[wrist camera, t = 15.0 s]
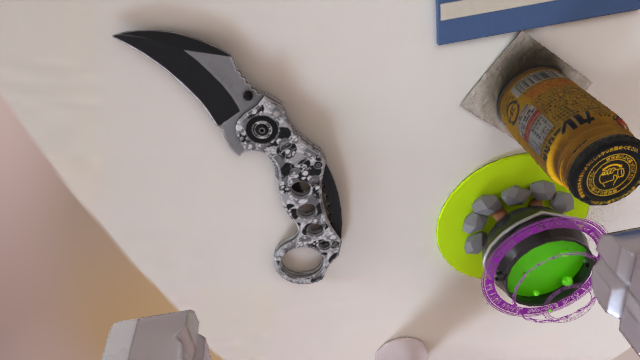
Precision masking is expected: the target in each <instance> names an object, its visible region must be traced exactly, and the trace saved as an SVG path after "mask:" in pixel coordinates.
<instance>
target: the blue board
mask: <svg viewBox="0 0 640 360" xmlns="http://www.w3.org/2000/svg"><path fill="white" fill-rule="evenodd" d="M638 9H640V0H436V11H437V44H438V45H442V44H448V43H454V42H459V41H465V40H470V39H476V38H481V37H487V36H493V35H498V34H504V33H509V32H515V31H521V30H526V29H532V28H537V27H543V26H548V25H554V24H560V23H565V22H571V21H576V20H582V19H588V18H593V17H599V16H604V15H610V14H615V13H621V12H627V11H632V10H638Z"/></svg>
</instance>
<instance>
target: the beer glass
mask: <svg viewBox="0 0 640 360" xmlns="http://www.w3.org/2000/svg"><path fill="white" fill-rule="evenodd" d="M375 360H428V352H427V348H426V346H425V345H424V343H422V342H421V341H420V340H417V339H414V338H407V337H405V338H398V339H394V340H391V341H389V342H387V343H386V344H384V345H383V346H382V347H381V348H380V349H379V350H378V351H377V353H376V356H375Z"/></svg>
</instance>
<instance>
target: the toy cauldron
mask: <svg viewBox="0 0 640 360" xmlns="http://www.w3.org/2000/svg"><path fill="white" fill-rule="evenodd" d="M588 207H589V204H586V203H584V202H582V201H580V200H579V199H577V198H575V197H574V196H573V195H572V193H570V191H569V190H568V189H566V188H565V187H564V186H561V185H559V184H557V183H556V182H554V181H553V180H551V178H550V177H549V176H548V175H547V174H546V173H545V172H544V171H543V169H541V167H540V166H539V165H538V164H536V162H535V160H534V159H533V158H532V157H531V156H530V154H529V153H528V154H518V155H514V156H509V157H505V158H502V159H500V160H497V161H495V162H492V163H490V164H488V165H486V166H484V167H482V168H481V169H479V170H477V171H476V172H474V173H473V174H471V175H470V176H469V177H468V178H466V179H465V180H464V181H463V182H461V183H460V185H459V186H458V187H457V188H456V189H455V190H454V191H453V192H452V193H451V195H450V196H449V198H448V199H447V201H446V203H445V204H444V206H443V208H442V210H441V213H440V215H439V218H438V223H437V229H436V235H437V243H438V246H439V249H440V251H441V254H442V255H443V256H444V258H445V259H446V260H447V262H448V263H449V264H450V265H451V266H453V267H454V268H455V269H456V270H458V271H460V272H462V273H464V274H466V275H468V276H472V277H476V278H481V279H483V284H482V280H481V285H483V288H484V279H486V280H485V286H486V285H488V286H487V287H486V291H487V293H488V296H489V295H490V294H492V293H493V295H490V296H489V297H490V299H491V298H493V299H491V300H492V301H493V300H495V301H493V302H494V303H495V302H496V301H497V302H498V303H499V302H500V300H501V302H500V303H499V304H498V303H497V302H496V303H495V304H496V305H497V306H499V307H500V306H501V307H500V308H502V307H503V306H504V304H505V306H504V307H503V308H502V309H504V310H506V311H508V310H509V312H513V313H518V314H516V315H520V314H522V318H524V319H526V318H525V317H527V316H523V315H524V314H532V315H535V316H538V315H537V314H535V313H537V312H538V311H539V310H541V309H544V310H541V311H543V312H545V313H546V315H547V314H549V313H547V312H548V311H549V312H550V313H551V312H552V311H553V312H554V311H555V310H556V311H557V309H555V308H558V307H560V308H561V306H562V307H563V308H564V306H563V304H564V305H565V302H566V301H567V300H568V299H569V298H570V299H569V300H568V301H569V302H570V303H571V304H572V302H573V301H572V300H574V299H576V298H577V297H578V298H577V299H578V300H579V299H580V298H579V296H580V295H581V294H583V293H584V292H585V291H586V290H587V289H588V288H589V286H590V287H591V285H592V284H591V283H592V282H591V277H590V278H588V277H589V276H592V275H590V273H591V271H592V268H593V266H594V265H595V264H596V263H597V261H598V260H599V259H600V258H601V257H602V256H601V255H600V254H599V253H598V256H597V257H596V256H594V255H593V254H592V253H591V251H590V250H589V246H588V242H587V238H586V237H585V235H584V234H583V232H585V233H587V234H588V235H589V236H590V237H592V239H593V240H594V241H595V243H596V245H597V243H598V239H599V238H600V237H601V233H600V232H599V231H598V230H597V229H596V228H598V226H599V225H597V224H596V223H594V222H592V221H590V222H592V223H594V224H595V225H594V224H592V223H590V222H589V220H588V221H585V220H587V219H586V216H587V213H588ZM588 219H589V218H588ZM593 221H594V220H593ZM585 222H587V223H590V224H592V225H593V226H595V227H596V228H594V227H592V226H591V225H589V224H587V223H585ZM595 222H596V221H595ZM598 224H599V223H598ZM583 225H584V226H583ZM582 226H583V227H582ZM601 226H602V225H601ZM581 227H582V228H581ZM602 227H603V226H602ZM584 228H585V229H584ZM603 228H604V227H603ZM588 229H590V230H588ZM598 229H599V230H600V231H601V232H602V234H606V233H604V232H605V231H604V230H603V229H602V228H601V227H600V226H599V228H598ZM601 229H602V230H603V231H604V232H603V231H602V230H601ZM604 229H605V228H604ZM605 230H606V229H605ZM582 231H583V232H582ZM591 232H592V233H593V232H594V233H593V234H594V236H592V235H593V234H591V235H590V233H591ZM598 232H599V233H598ZM607 233H608V232H607ZM595 236H597V237H595ZM595 238H597V240H596V239H595ZM587 279H588V281H587V282H586V283H585V281H586V280H587ZM494 281H495V283H496V285H497V286H498V287H499V288H501V289H502V290H503V291H504V292H505V293H506V294H507V295H508V296H509V297H510V298H511V299H512V300H513V301H512V303H513V302H514V304H513V305H511V304H509V303H507V302H505V301H504V300H502V299H501V298H500V296H499V295H498V294H497V292H496V290H495V286H494ZM588 282H589V283H590V284H589V283H588ZM584 283H585V284H584ZM489 284H491V285H492V286H493V287H492V286H489ZM583 284H584V285H583ZM586 284H587V285H586ZM582 285H583V286H582ZM581 286H582V287H583V288H584V289H585V290H583V289H581V288H582V287H581ZM586 286H588V287H586ZM490 287H492V289H491V288H490ZM483 288H482V291H484V292H485V288H484V290H483ZM489 288H490V289H491V290H490V289H489ZM579 288H580V289H579ZM591 288H592V287H591ZM591 288H590V289H588V290H587V291H588V292H590V290H591ZM487 289H488V290H489V291H488V290H487ZM576 290H577V291H576ZM575 291H576V292H577V293H578V294H579V296H577V293H576V292H575ZM587 291H586V292H587ZM591 291H592V290H591ZM484 292H483V294H485V295H486V297H487V299H486V300H487V301H488V303H489V302H490V303H491V304H492V305H493V306H495V305H494V304H493V303H492V302H491V301H490V299H489V298H488V296H487V294H486V292H485V293H484ZM574 292H575V293H574ZM586 292H585V293H586ZM588 292H587V293H588ZM494 293H495V294H494ZM585 293H584V294H585ZM587 293H586V294H587ZM574 294H575V295H574ZM584 294H583V295H584ZM590 294H591V293H590ZM485 295H484V296H485ZM495 295H496V296H495ZM572 295H573V297H572V298H574V299H572V298H571V296H572ZM494 296H495V298H497V299H498V298H499V299H498V300H499V301H498V300H496V299H495V298H494ZM568 296H569V297H568ZM581 296H582V295H581ZM581 296H580V297H581ZM486 297H485V298H486ZM566 297H567V298H568V299H567V298H566ZM582 297H583V296H582ZM564 298H565V299H564ZM595 298H596V297H594V298H593V299H595ZM562 299H563V300H562ZM577 299H576V301H577ZM593 299H592V295H591V301H592V300H593ZM560 300H561V301H560ZM564 300H565V302H564ZM595 300H596V299H595ZM515 301H516V302H517V303H518V304H522V305H526V306H543V307H537V308H536V310H535V308H523V309H522V310H521V309H520V310H519V308H522V307H517V304H516V303H515ZM558 301H559V302H558ZM568 301H567V303H569V302H568ZM571 301H572V302H571ZM574 301H575V300H574ZM591 301H590V303H589V304H588V303H587V304H588V305H587V306H585V307H583V308H584V309H585V308H586V307H588V306H589V305H590V304H591ZM563 302H564V303H563ZM592 302H594V301H592ZM488 303H487V304H488ZM490 303H489V304H490ZM552 303H554V305H555V306H556V305H557V304H558V307H555V306H554V305H553V304H552ZM555 303H556V304H555ZM567 303H566V304H567ZM570 303H569V305H570ZM573 303H574V302H573ZM594 303H595V302H594ZM491 304H490V305H491ZM549 304H551V305H549ZM492 305H491V306H492ZM502 305H503V306H502ZM545 305H547V306H545ZM567 305H568V304H567ZM593 305H594V304H593ZM497 306H495V307H496V308H498V307H497ZM508 306H509V307H508ZM511 306H512V307H513V308H514V309H513V308H512V307H511ZM548 306H549V309H548ZM551 306H552V307H553V308H552V307H551ZM565 306H566V305H565ZM591 306H592V305H591ZM495 307H494V308H495ZM507 307H508V308H509V309H508V308H507ZM510 307H511V308H512V309H513V310H512V309H511V308H510ZM516 307H517V308H518V309H517V308H516ZM550 307H551V309H550ZM496 308H495V309H496ZM500 308H498V309H500ZM506 308H507V309H506ZM539 308H540V309H539ZM583 308H581V309H583ZM589 308H590V307H589ZM498 309H497V310H498ZM502 309H500V310H501V311H500V310H499V311H500V312H502V311H504V310H502ZM530 309H531V310H530ZM532 309H533V310H532ZM538 309H539V310H538ZM546 309H547V310H546ZM553 309H555V310H553ZM558 309H559V308H558ZM561 309H562V308H561ZM587 309H588V308H587ZM590 309H591V308H590ZM590 309H589V310H590ZM511 310H512V311H511ZM529 310H530V311H531V312H530V311H529ZM559 310H560V309H559ZM589 310H588V311H589ZM506 311H504V312H506ZM533 311H535V312H533ZM536 311H537V312H536ZM541 311H539V312H538V313H540V314H542V315H544V313H541ZM546 311H547V312H546ZM578 311H581V310H580V309H579V310H578ZM578 311H577V312H576V313H579V312H578ZM588 311H587V312H588ZM504 312H503V313H504ZM509 312H506V313H505V314H507V313H509ZM528 312H530V313H528ZM513 313H511V314H513ZM581 313H582V312H581ZM511 314H510V313H509V315H511ZM573 314H574V313H573ZM516 315H513V316H516ZM571 315H572V314H571ZM571 315H570V316H571ZM581 315H582V314H581ZM583 315H584V314H583ZM544 316H545V315H544ZM570 316H568V315H567V316H564V317H566V318H567V319H568V317H570ZM576 316H577V315H576ZM578 316H579V314H578ZM546 317H548V316H546ZM546 317H545V318H546ZM551 317H552V316H551ZM580 317H581V316H580ZM528 318H529V317H528ZM548 318H549V319H550V317H548ZM552 318H553V317H552ZM561 318H563V317H561ZM561 318H560V319H561ZM571 318H572V317H571ZM574 318H576V317H574ZM578 318H579V317H578ZM546 319H547V318H546ZM549 319H548V320H544V321H552V322H554V321H558V323H562V322H560V321H559V319H558V318H557V319H558V320H553V319H552V320H549ZM555 319H556V318H555ZM564 319H565V318H564ZM576 319H577V318H576ZM526 320H527V319H526ZM530 320H534V321H536V319H532V318H530ZM530 320H529V321H530ZM561 320H562V319H561ZM570 320H571V319H570ZM534 321H533V322H534ZM566 321H567V322H568V320H566ZM571 321H572V320H571ZM536 322H537V321H536ZM539 322H540V323H546V322H543V321H539Z"/></svg>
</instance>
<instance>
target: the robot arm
mask: <svg viewBox="0 0 640 360" xmlns="http://www.w3.org/2000/svg"><path fill="white" fill-rule="evenodd" d="M596 250H597V252H598V253H599V254H600V255H601V256H602V257H601V258H600V259H599V260H598V262H597V263H596V264H595V265H594V266H593V269H592V276H591V281H592V286H593V291H594V294H595V296H596V298H597V300H598V302H599V304H600V305H601V306H602V308H603V309H604V311H605V312H606V313H608V314H610V315H612V316H614V317H616V318H618V319H620V326H619V331H620V332H621V333H622V335H623V336H624V337H625V338H626V340H627V341H628V342H629V344H630V345H631V346H632V348H633V349H634V350H635V351H636V353H637V354H638V356H639V357H640V227H638V228H633V229H628V230H622V231H617V232H612V233H607V234H602V236H601V237H600V238H599V240H598V243H597V248H596ZM198 329H199V321H198V319H197V316H196V314H195V312H194V311H192V310H186V311H180V312H174V313H168V314H161V315H155V316H149V317H142V318H140V319H133V320H126V321H120V322H116V323H115V324H114V325H113V326H112V328H111V329H110V332H109V336H108V339H107V342H106V346H105V349H104V353H103V356H102V359H101V360H211V355H210V351H209V347H208V344H207V341H206V339H205V337H203V336H202V335H200V334H198Z"/></svg>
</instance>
